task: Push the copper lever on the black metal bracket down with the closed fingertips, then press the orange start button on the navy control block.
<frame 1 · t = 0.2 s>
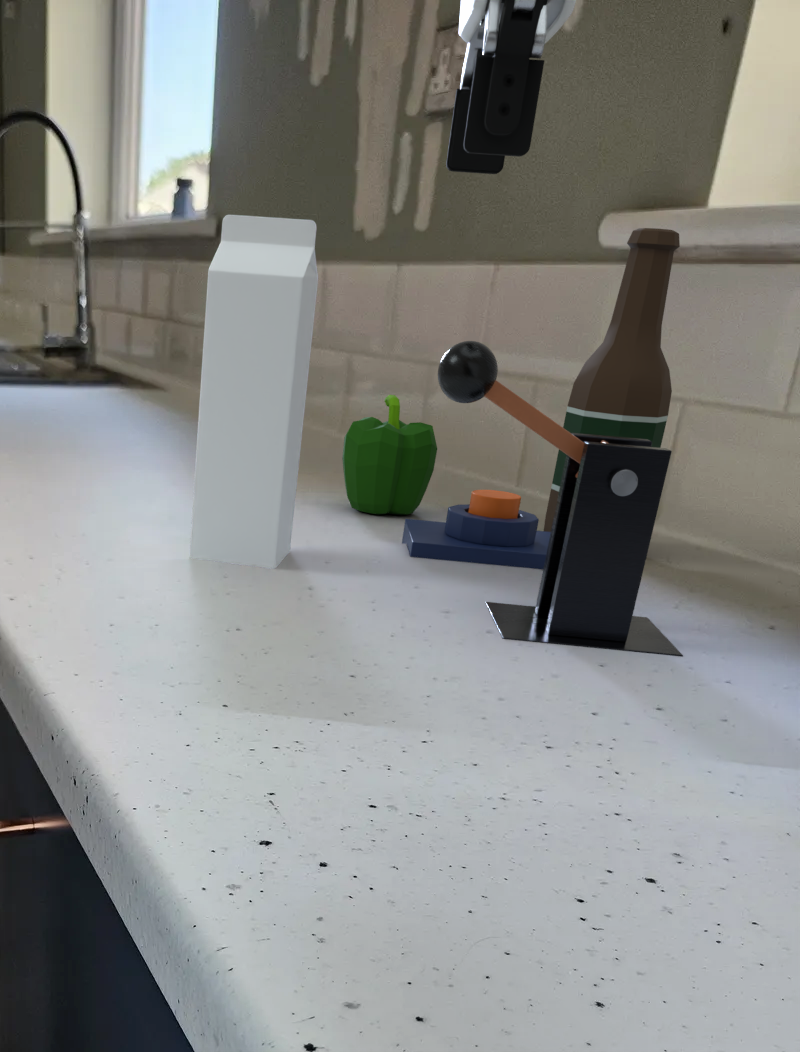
hand: (483, 163, 60), 25 cm above the counter, tool pointing down, fingers open, 9 cm apart
milk: (239, 573, 79), on the counter
beer bottle: (587, 550, 95), on the counter
bracket: (574, 646, 67), on the counter
bell pepper: (381, 514, 103), on the counter
button: (494, 506, 84), point 4 cm above the counter, slide at 0.1 cm
lever: (539, 423, 62), point 12 cm above the counter, hinge at 28.0°
control block: (483, 566, 85), on the counter
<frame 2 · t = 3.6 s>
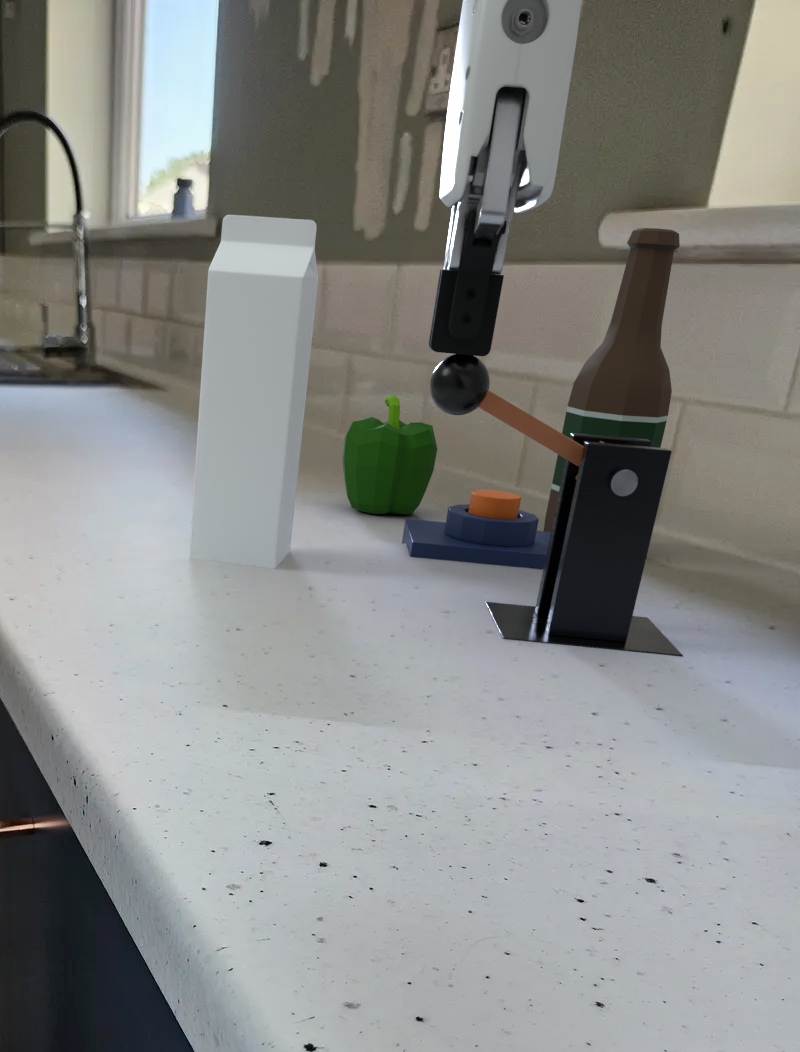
hand: (458, 352, 61), 16 cm above the counter, tool pointing down, fingers closed
lever: (534, 429, 62), point 12 cm above the counter, hinge at 23.8°, touching gripper
everything else where it was.
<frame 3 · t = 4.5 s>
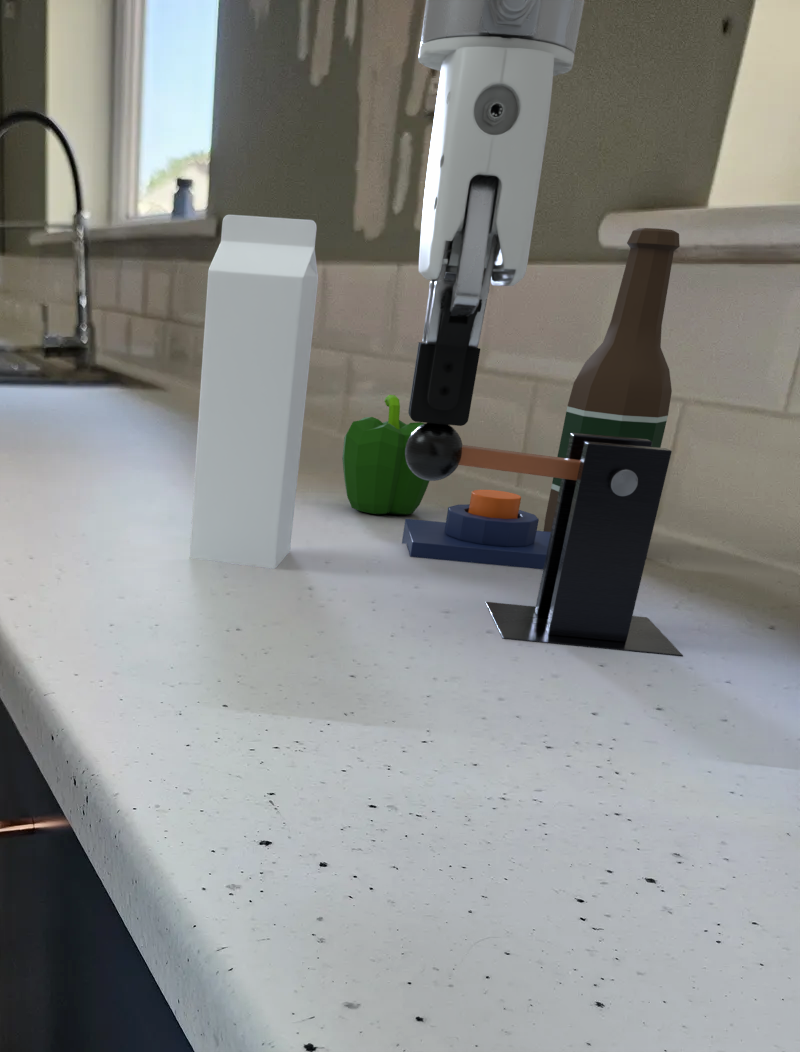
hand: (437, 421, 63), 12 cm above the counter, tool pointing down, fingers closed
lever: (520, 462, 63), point 10 cm above the counter, hinge at 2.3°, touching gripper
everything else where it was.
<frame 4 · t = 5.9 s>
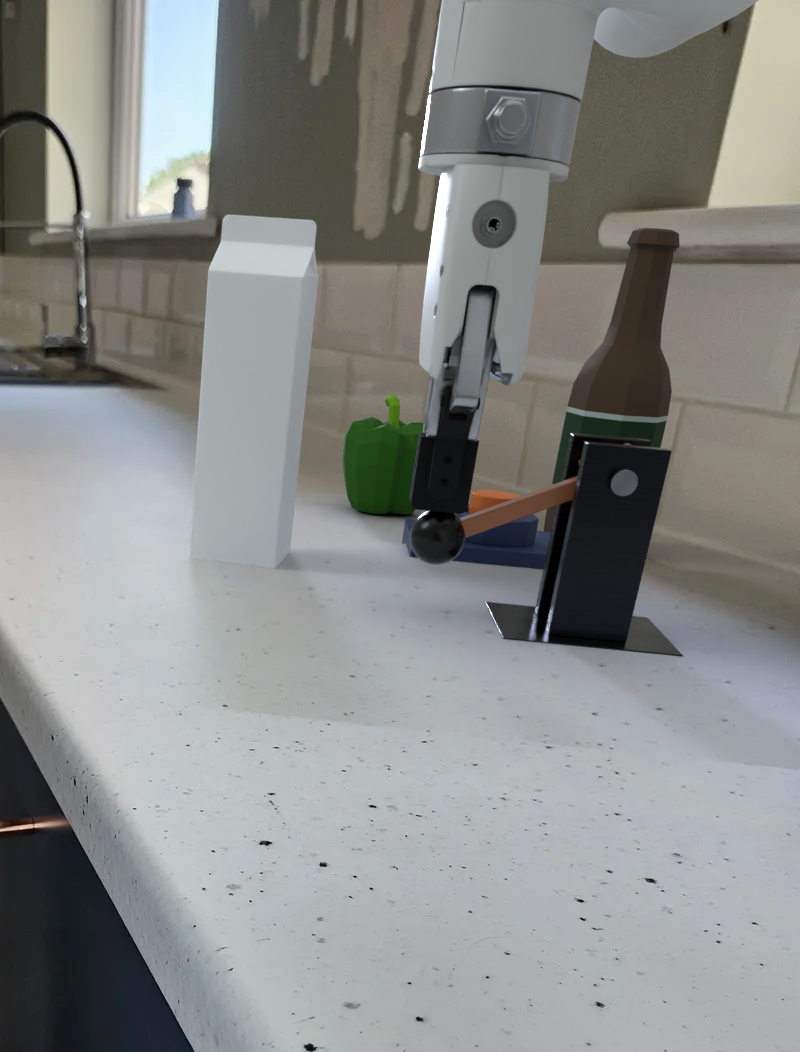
hand: (437, 508, 65), 7 cm above the counter, tool pointing down, fingers closed
lever: (521, 506, 64), point 8 cm above the counter, hinge at -25.6°, touching gripper
everything else where it was.
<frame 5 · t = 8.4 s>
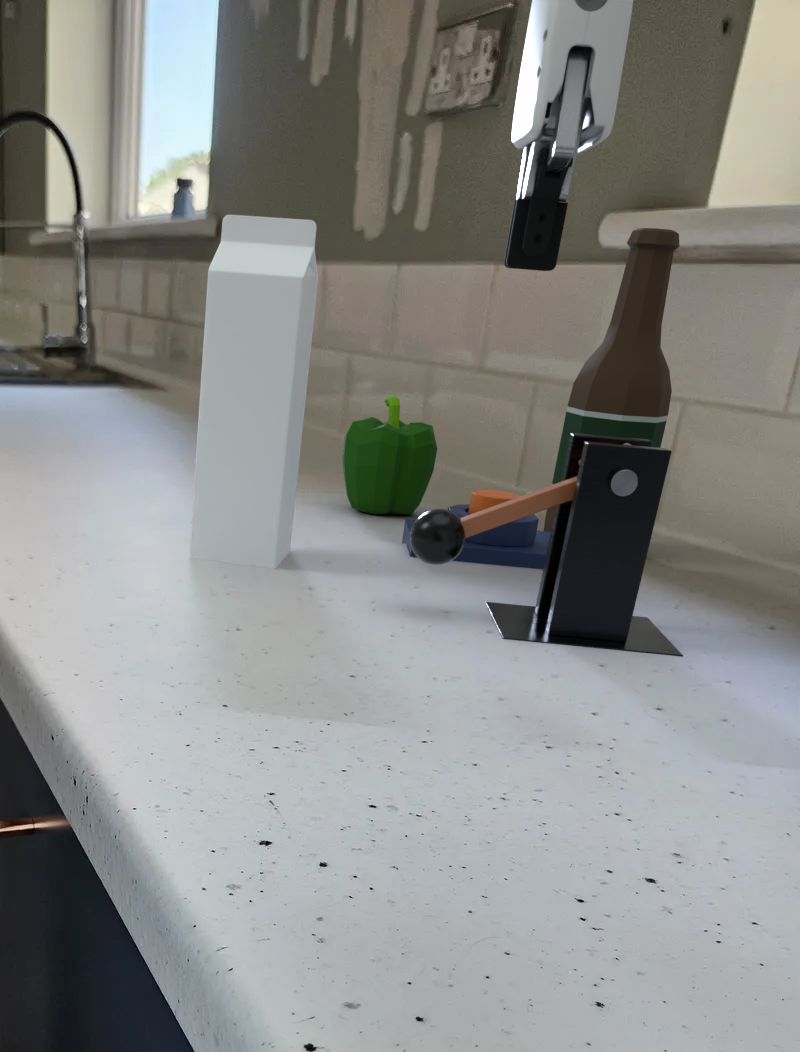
hand: (528, 268, 75), 20 cm above the counter, tool pointing down, fingers closed
lever: (521, 507, 64), point 8 cm above the counter, hinge at -25.6°
everything else where it was.
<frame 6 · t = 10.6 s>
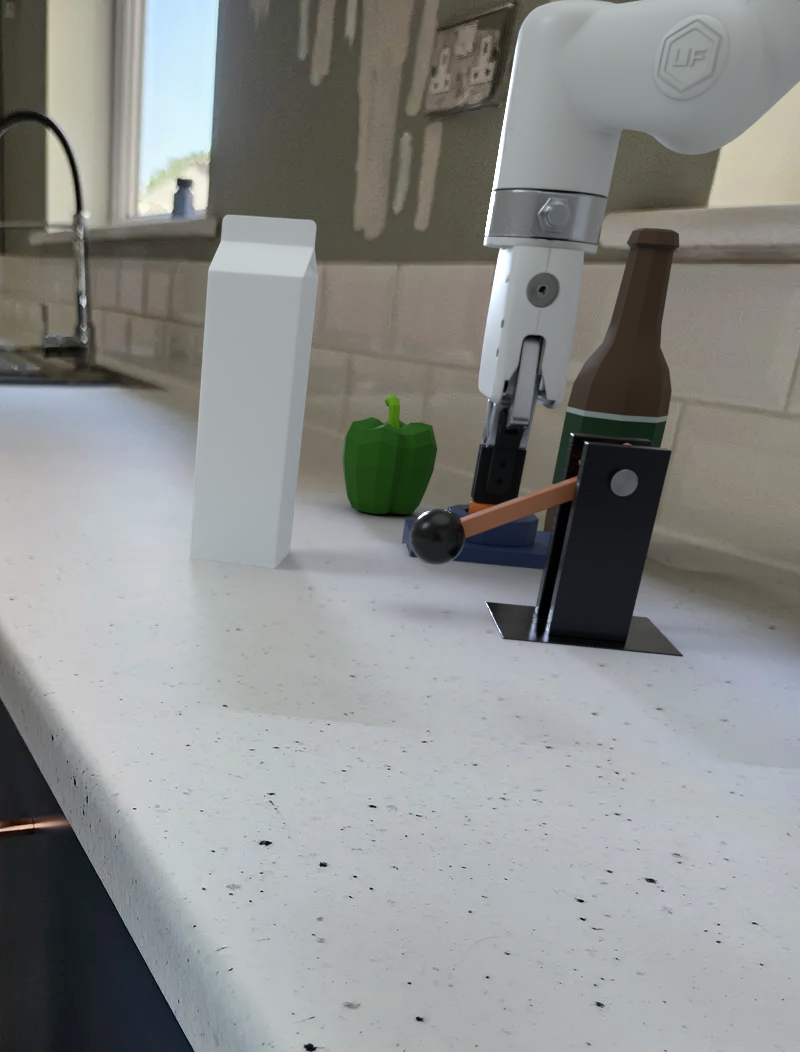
hand: (492, 502, 83), 5 cm above the counter, tool pointing down, fingers closed
button: (492, 515, 84), point 4 cm above the counter, slide at -0.5 cm, touching gripper
everything else where it was.
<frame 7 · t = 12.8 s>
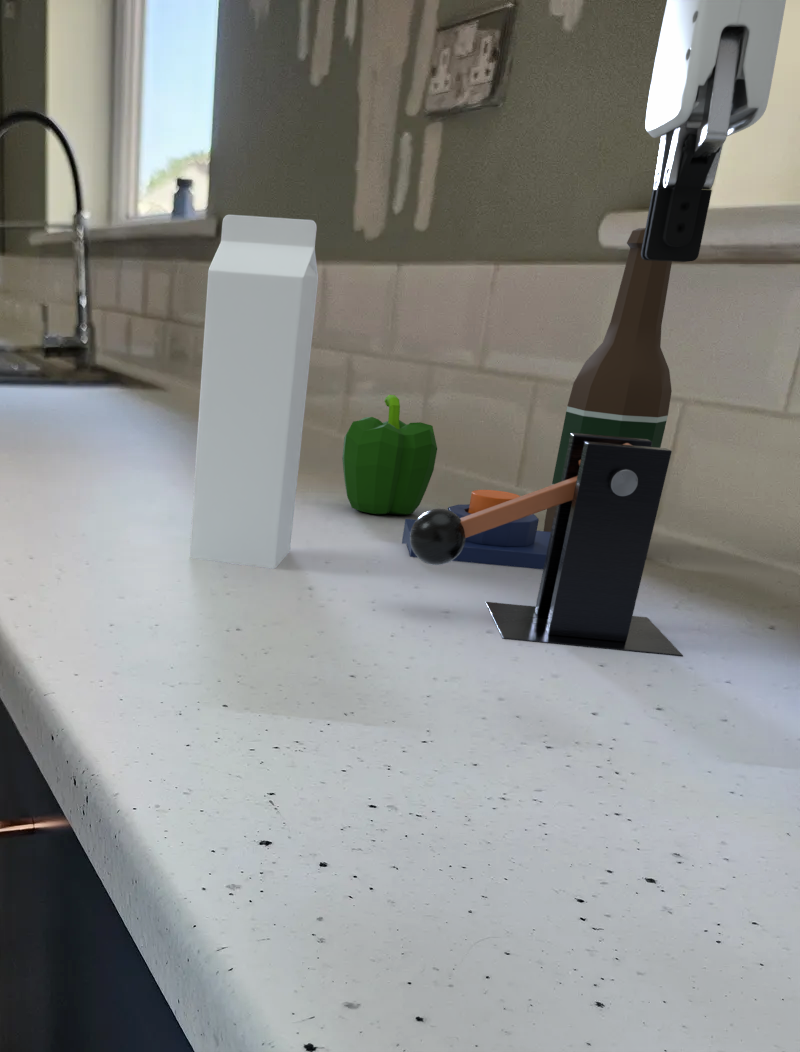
hand: (668, 259, 72), 21 cm above the counter, tool pointing down, fingers closed
button: (494, 506, 84), point 4 cm above the counter, slide at 0.1 cm
everything else where it was.
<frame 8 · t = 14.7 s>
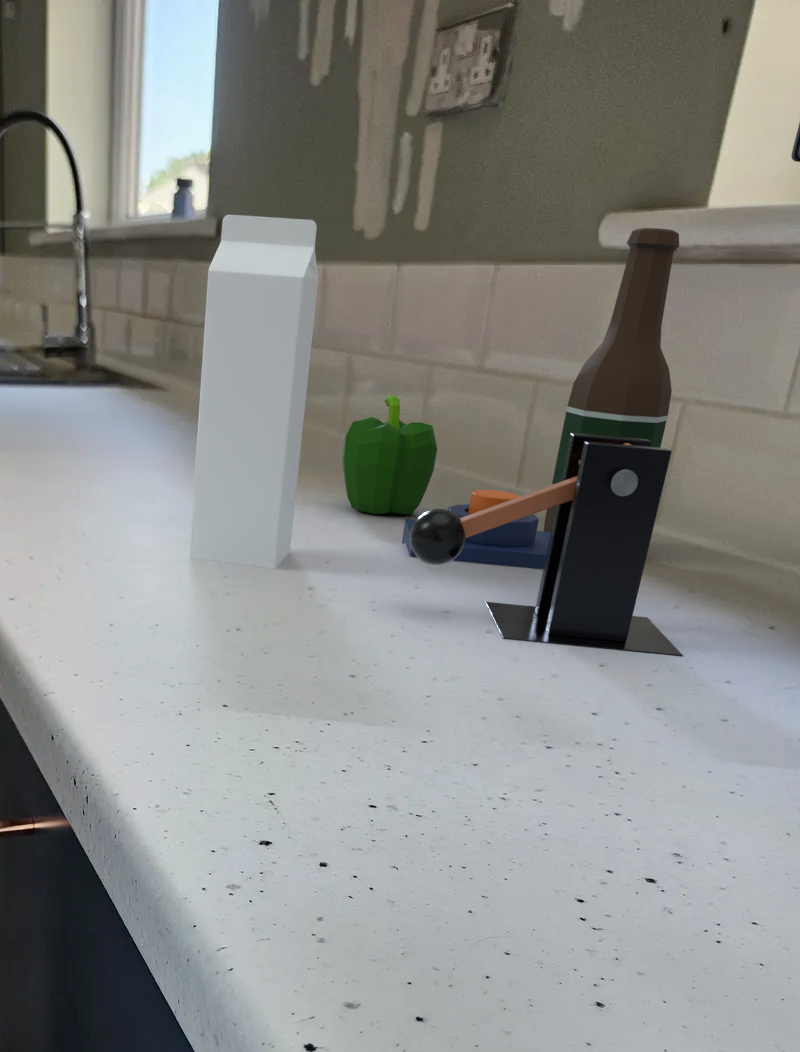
nothing on the counter moved.
at the end: lever at -26° (first picture: +28°); button pushed in 1.1 cm at the most during the clip, back to where it started at the end; button slide at 0.1 cm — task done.
